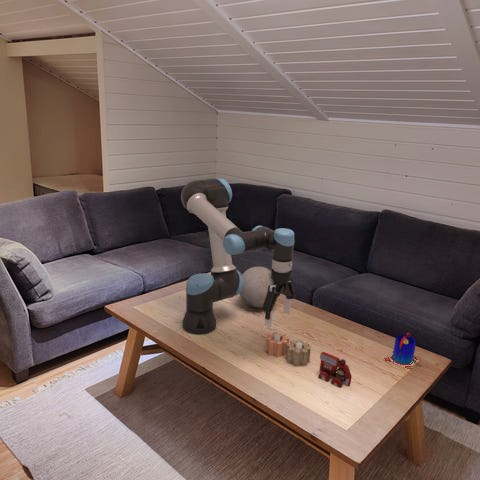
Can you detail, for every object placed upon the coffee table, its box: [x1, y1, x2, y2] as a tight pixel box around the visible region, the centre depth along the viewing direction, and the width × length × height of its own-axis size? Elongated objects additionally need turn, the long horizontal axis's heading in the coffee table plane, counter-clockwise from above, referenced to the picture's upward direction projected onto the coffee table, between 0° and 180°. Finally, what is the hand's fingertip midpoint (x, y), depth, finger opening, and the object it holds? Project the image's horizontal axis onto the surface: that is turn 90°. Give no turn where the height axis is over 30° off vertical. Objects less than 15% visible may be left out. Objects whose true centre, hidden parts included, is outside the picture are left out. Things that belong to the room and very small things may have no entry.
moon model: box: [239, 266, 276, 309], centre depth 216 cm, size 20×20×20 cm
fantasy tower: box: [383, 332, 419, 369], centre depth 175 cm, size 12×12×12 cm
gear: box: [285, 339, 312, 367], centre depth 171 cm, size 9×9×6 cm
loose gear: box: [264, 332, 290, 358], centre depth 177 cm, size 9×9×6 cm
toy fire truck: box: [317, 351, 352, 389], centre depth 160 cm, size 7×12×10 cm, turn 51°
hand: (277, 319), depth 174 cm, fingers open, 13 cm apart
